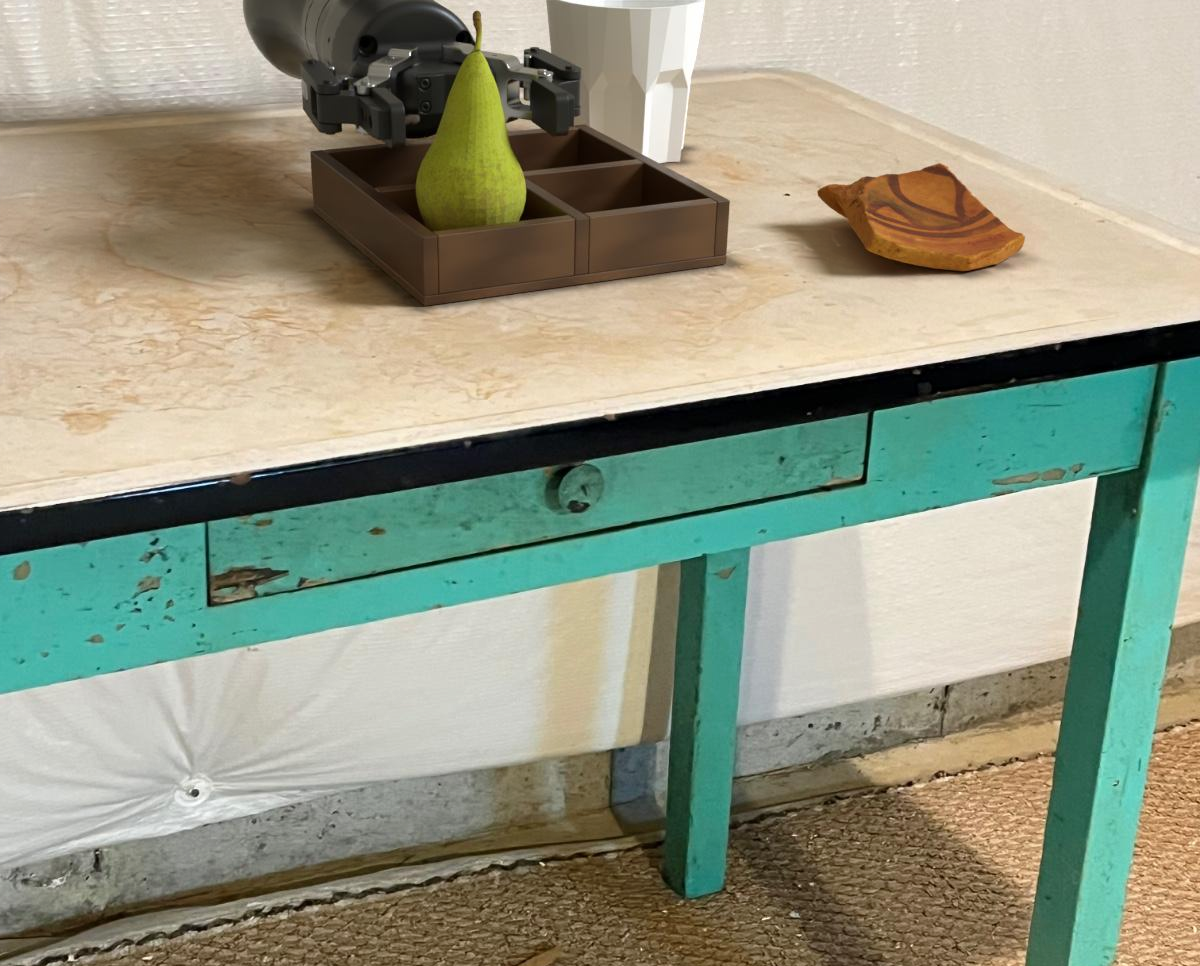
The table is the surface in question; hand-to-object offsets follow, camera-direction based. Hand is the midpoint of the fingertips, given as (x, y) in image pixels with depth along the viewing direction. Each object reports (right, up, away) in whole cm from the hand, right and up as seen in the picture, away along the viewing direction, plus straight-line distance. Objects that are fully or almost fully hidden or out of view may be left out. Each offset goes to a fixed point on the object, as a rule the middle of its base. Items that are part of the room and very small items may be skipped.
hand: (482, 121), depth 84 cm
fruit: (-1, -6, +5) cm, 8 cm away
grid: (+1, -4, +10) cm, 11 cm away
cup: (+7, +5, +27) cm, 28 cm away
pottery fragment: (+23, -4, +11) cm, 26 cm away
